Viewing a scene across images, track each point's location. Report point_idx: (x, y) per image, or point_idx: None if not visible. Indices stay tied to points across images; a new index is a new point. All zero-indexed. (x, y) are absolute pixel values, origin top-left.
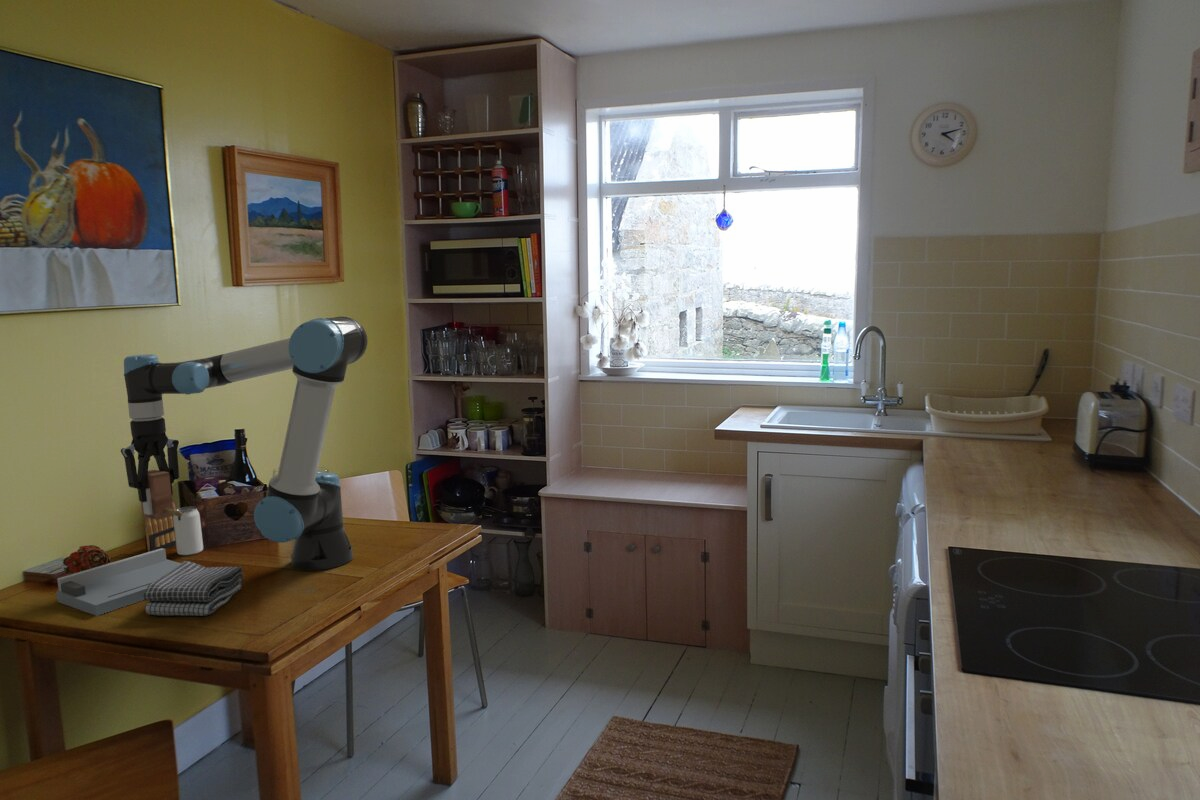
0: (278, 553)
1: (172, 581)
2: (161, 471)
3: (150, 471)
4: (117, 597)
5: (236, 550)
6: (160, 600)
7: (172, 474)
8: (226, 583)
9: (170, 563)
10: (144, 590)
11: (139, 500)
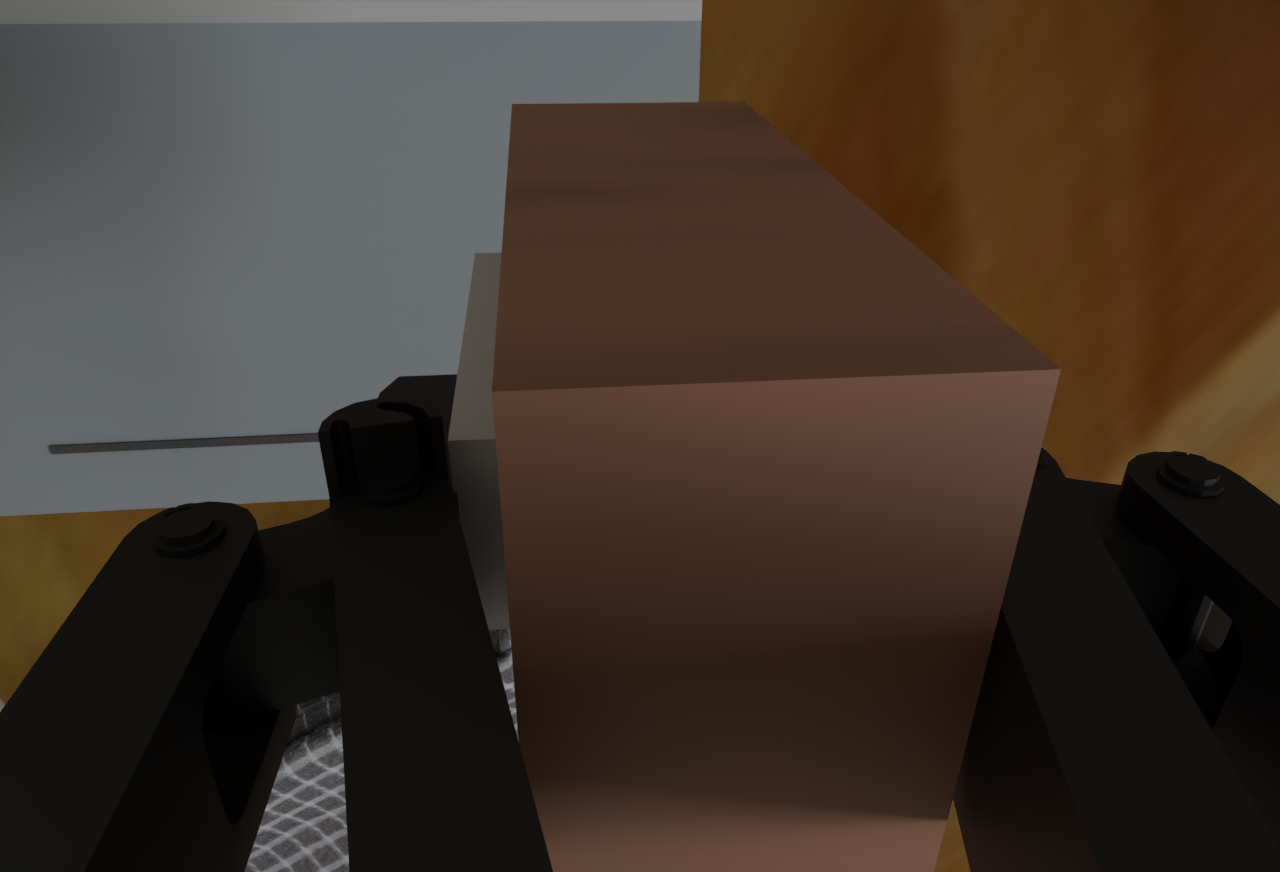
0: (1192, 391)
1: (313, 815)
2: (920, 788)
3: (826, 545)
4: (99, 499)
5: (1202, 55)
6: None
7: (1168, 589)
8: None
9: None
10: (275, 498)
11: (389, 385)
